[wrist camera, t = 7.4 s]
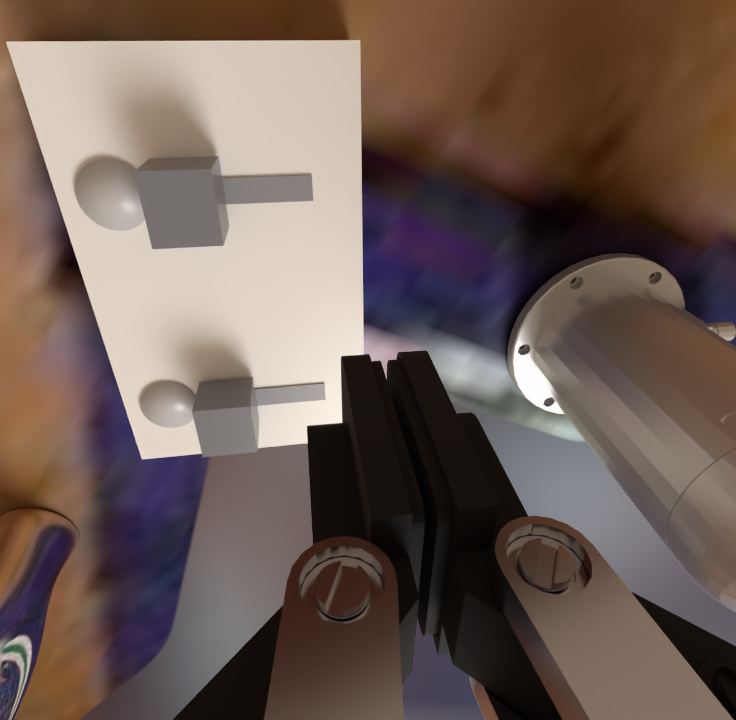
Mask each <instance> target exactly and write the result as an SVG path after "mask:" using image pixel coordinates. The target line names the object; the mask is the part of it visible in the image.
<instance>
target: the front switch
mask: <svg viewBox="0 0 736 720" xmlns="http://www.w3.org/2000/svg"><path fill="white" fill-rule="evenodd" d="M134 175H135V179H136V183H137V188H138V192H139V196H140V200H141V204H142V208H143V213H144V217H145V221H146V225H147V229H148V233H149V238H150V242H151V246H152V249H169V248H188V247H208V246H224V243H225V239H226V236H227V233H228V229H229V221H228V214H227V208H226V201H225V195H224V188H223V182H222V175H221V168H220V162H219V156H212V157H179V158H149V159H148V160H147V161H146V162H144V163H143V164H142V165H141V166H140V167H138V168H137V169H136V170H135V171H134Z"/></svg>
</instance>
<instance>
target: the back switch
mask: <svg viewBox="0 0 736 720" xmlns="http://www.w3.org/2000/svg"><path fill="white" fill-rule="evenodd" d="M192 414H193V419H194V423H195V427H196V431H197V435H198V439H199V444H200V448H201V452H202V456H203V457H211V456H220V455H231V454H241V453H251V452H257V451H258V436H259V415H258V408H257V401H256V395H255V388H254V382H253V377H251V378H239V379H227V380H214V381H202V382H199V385H198V389H197V393H196V397H195V401H194V405H193V409H192Z"/></svg>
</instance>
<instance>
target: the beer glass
mask: <svg viewBox="0 0 736 720" xmlns="http://www.w3.org/2000/svg"><path fill="white" fill-rule="evenodd" d="M78 545H79V533H78V531H77V529H76V527H75V526H74V525H73V524H72V523H71V522H70V521H69V520H67V519H66V518H65V517H63V516H61V515H59V514H57V513H54V512H51V511H48V510H43V509H36V508H23V509H16V510H12V511H9V512H6V513H4V514H2V515H1V516H0V720H14V719H15V717H16V715H17V713H18V711H19V708H20V706H21V704H22V701H23V699H24V697H25V694H26V692H27V689H28V687H29V684H30V681H31V678H32V676H33V673H34V670H35V667H36V663H37V659H38V656H39V652H40V648H41V644H42V640H43V635H44V630H45V626H46V621H47V616H48V611H49V606H50V602H51V598H52V594H53V591H54V588H55V585H56V583H57V580H58V578H59V576H60V574H61V573H62V571H63V569H64V568H65V566H66V565H67V563H68V562H69V560H70V559H71V557H72V556H73V554H74V553H75V551H76V549H77V547H78Z"/></svg>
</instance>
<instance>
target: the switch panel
mask: <svg viewBox="0 0 736 720" xmlns="http://www.w3.org/2000/svg"><path fill="white" fill-rule="evenodd" d="M6 43H7V46H8V49H9V52H10V55H11V59H12V62H13V65H14V68H15V71H16V74H17V77H18V80H19V83H20V86H21V89H22V92H23V95H24V98H25V102H26V105H27V108H28V111H29V114H30V117H31V120H32V123H33V126H34V129H35V132H36V135H37V138H38V141H39V145H40V148H41V151H42V154H43V157H44V160H45V163H46V166H47V169H48V172H49V175H50V178H51V181H52V184H53V188H54V191H55V194H56V197H57V200H58V203H59V206H60V209H61V212H62V215H63V218H64V221H65V224H66V227H67V231H68V234H69V237H70V240H71V243H72V246H73V249H74V252H75V255H76V258H77V261H78V264H79V267H80V270H81V274H82V277H83V280H84V283H85V286H86V289H87V292H88V295H89V298H90V301H91V304H92V307H93V310H94V313H95V317H96V320H97V323H98V326H99V329H100V332H101V335H102V338H103V341H104V344H105V347H106V350H107V353H108V357H109V360H110V363H111V366H112V369H113V372H114V375H115V378H116V381H117V384H118V387H119V390H120V393H121V396H122V400H123V403H124V406H125V409H126V412H127V415H128V418H129V421H130V424H131V427H132V430H133V433H134V436H135V439H136V443H137V446H138V449H139V452H140V455H141V458H142V459H151V458H161V457H171V456H182V455H192V454H202V452H201V448H200V444H199V439H198V435H197V431H196V427H195V423H194V419H193V414H192V409H193V405H194V401H195V397H196V393H197V389H198V385H199V382H202V381H214V380H227V379H239V378H251V377H253V382H254V388H255V395H256V401H257V408H258V415H259V436H258V448H263V447H273V446H282V445H293V444H303V443H308V438H307V426H310V425H323V424H335V423H342V392H341V356H350V355H364V341H363V251H362V160H361V69H360V40H265V41H25V42H6ZM212 156H219V162H220V168H221V175H222V182H223V188H224V195H225V201H226V208H227V214H228V221H229V229H228V233H227V236H226V239H225V243H224V246H208V247H188V248H169V249H152V246H151V242H150V238H149V233H148V229H147V225H146V221H145V217H144V213H143V208H142V204H141V200H140V196H139V192H138V188H137V183H136V179H135V175H134V171H135V170H136V169H137V168H138V167H140V166H141V165H142V164H143V163H144V162H146V161H147V160H148V159H149V158H179V157H212Z"/></svg>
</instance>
